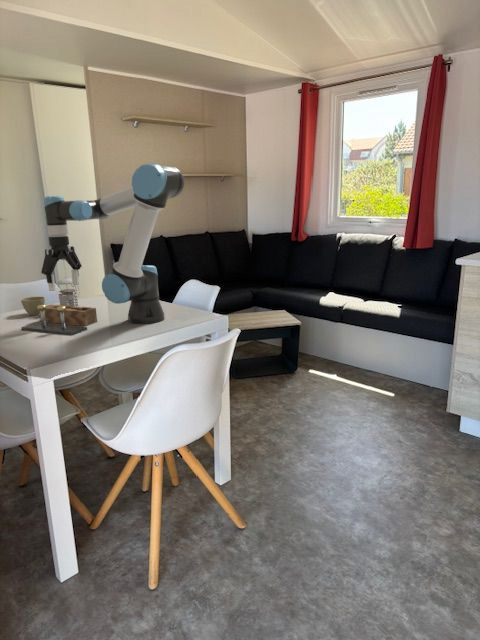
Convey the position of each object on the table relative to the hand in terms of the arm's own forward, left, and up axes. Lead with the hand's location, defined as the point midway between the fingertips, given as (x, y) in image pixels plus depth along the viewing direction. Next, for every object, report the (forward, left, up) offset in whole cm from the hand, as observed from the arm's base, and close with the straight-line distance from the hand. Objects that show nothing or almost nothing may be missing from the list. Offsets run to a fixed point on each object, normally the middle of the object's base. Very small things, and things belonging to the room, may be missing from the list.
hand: (64, 287), depth 193 cm
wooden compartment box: (0, 0, -14) cm, 14 cm away
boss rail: (-4, +12, -14) cm, 19 cm away
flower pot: (+26, -7, -15) cm, 31 cm away
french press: (+14, -17, -15) cm, 26 cm away
